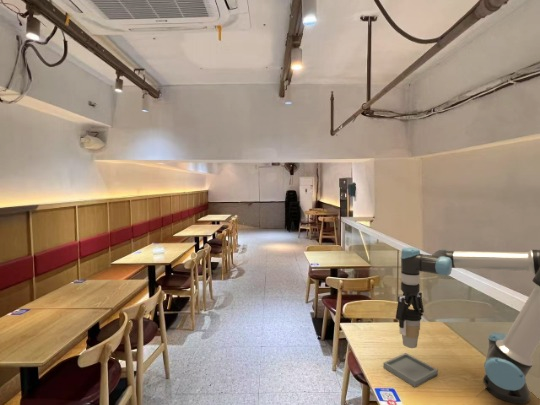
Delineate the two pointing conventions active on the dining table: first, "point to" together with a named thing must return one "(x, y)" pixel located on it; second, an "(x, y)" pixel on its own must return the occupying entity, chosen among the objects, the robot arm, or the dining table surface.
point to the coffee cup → (412, 328)
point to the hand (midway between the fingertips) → (409, 331)
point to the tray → (410, 369)
